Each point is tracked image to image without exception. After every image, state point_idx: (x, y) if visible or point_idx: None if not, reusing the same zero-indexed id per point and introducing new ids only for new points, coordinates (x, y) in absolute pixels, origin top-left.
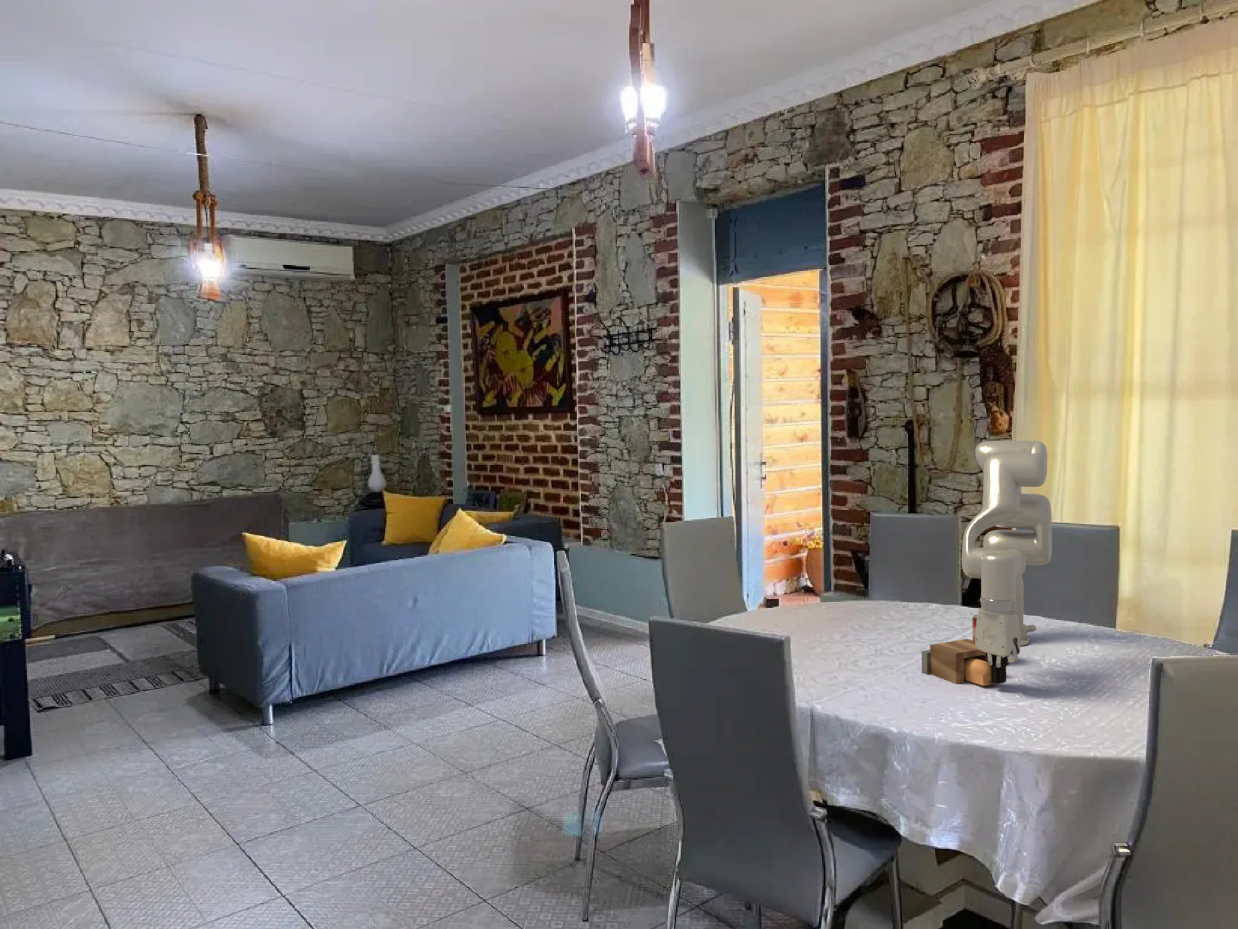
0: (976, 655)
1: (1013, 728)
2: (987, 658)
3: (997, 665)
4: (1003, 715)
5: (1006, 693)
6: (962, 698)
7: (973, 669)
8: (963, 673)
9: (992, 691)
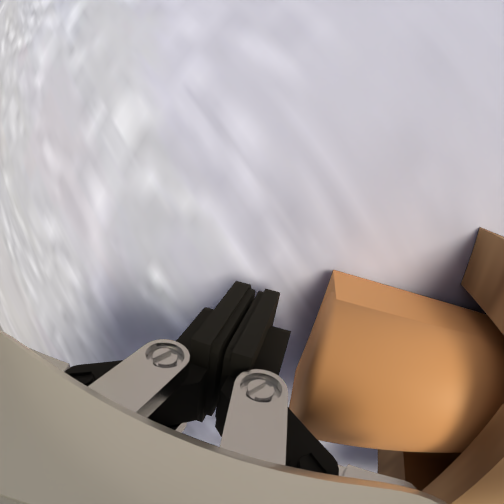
0: (454, 465)
1: (38, 11)
2: (314, 437)
3: (174, 355)
4: (77, 38)
5: (206, 278)
6: (298, 25)
7: (432, 337)
8: (482, 302)
9: (270, 257)
